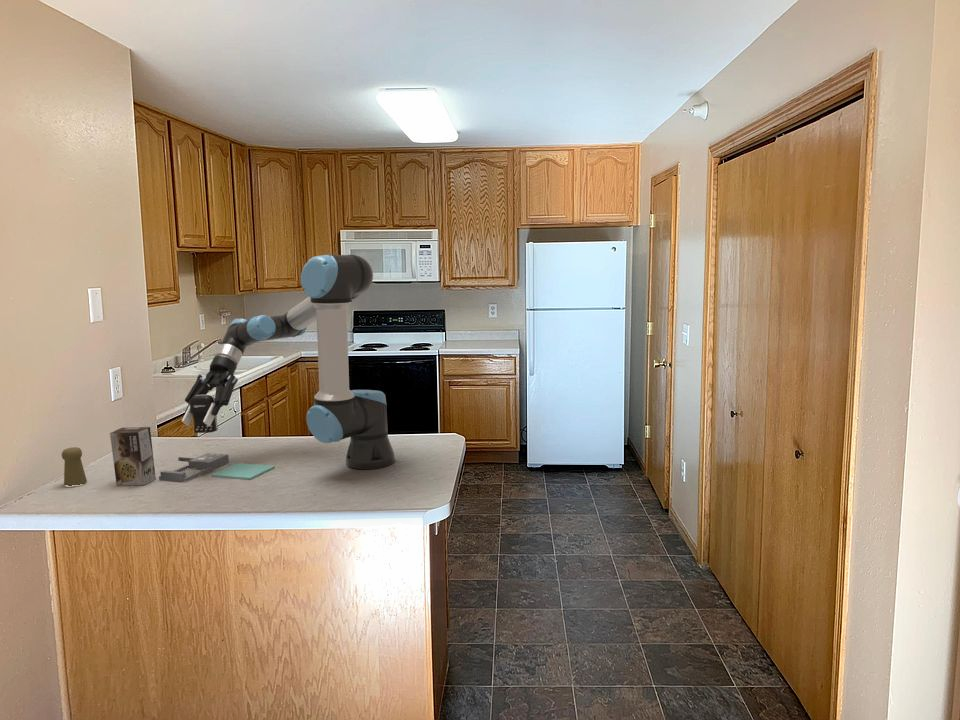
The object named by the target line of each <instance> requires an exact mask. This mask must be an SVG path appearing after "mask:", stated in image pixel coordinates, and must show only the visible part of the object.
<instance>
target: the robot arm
mask: <svg viewBox="0 0 960 720" xmlns="http://www.w3.org/2000/svg"><path fill="white" fill-rule="evenodd" d="M301 270H302V271H301V273H300V284H301V288H302V290H304V291H303V293H304V294H305V295H307V297H306V298H305V299H304V300H302V301H300V302H299V303H298V304H296V305H295V306H294V307H292V308H290V309H289V310H288V311H287V312H285V313H284V314H281V315H280V314H278V315H273V316H271V315H270V316H268V315H266V314H261V315H258V316H257V315H256V316H253V317H252V318H250V319H248V320H247V319H245V318H234V319H233V320H232V321H231V323H230V325H228V328H227V330H226V332H225V334H224V336H223V338H222V341H221V343H220V345H219V347H218V348H217V350H216V352H215V354H214V357H213V359H212V361H211V362H210V365H209V371H208V372H207V373H206V375H202V374H198V375H197V377H196V381H195V383H194V384H193V386H192V387H191V389H190V390H189V392H188V393H187V395H186V397H185V398H184V401H185V403H186V404H188V405H187V406H186V409H185V411H184V413H185V414H184V415H183V417H182V419H181V422H182V423H183V424H184V425H185V426H186V427H189V426H190V425H191V422H192V420H193V419H194V417H193V414H191V411H190V399H191V398H192V397H194V396H196V395H208V393H209V392H210V391H212V390H213V389H214V388H215V396H214V398H215V400H214V401H215V402H214V401H213V402H214V403H215V404H214V403H212V404H211V406H210V408H209V410H208V412H207V414H206V416H205V418H204V420H203V422H204V423H205V424H206V425H207V426H211V423H212V421H213V419H214V417H215V416H216V415H218V414H219V411H220V409H222V407H223V406H225V407H227V406H229V403H230V399H231V397H232V395H233V392H234V388H235V386H236V384H237V383H238V382H239V379H238V377H236V376H235V372H236V370H237V367H238V366H239V363H240V361H241V359H242V357H243V355H244V353H245V351H246V349H247V347H248V346H251V345H253V344H256V343H259V342H265V341H266V342H267V341H272V340H278V339H280V340H281V339H287V338H295V337H298V336H302V335H303V334H305V333H306V330H307V328H308V326H310V325H312V324H313V323H315V322H316V334H317V335H316V337H317V362H318V365H317V367H318V389H319V390H318V392H317V393H315V395H314V396H313V399H314V401H313V402H314V403H313V404H314V405H313V406H311V407H309V409H308V410H307V412H306V416H305V417H306V425H307V428H308V430H309V432H310V434H312V435H313V437H314V439H316V440H317V441H319V442H320V443H323V444H331V443H337V442H341V441H342V440H345V439H346V440H347V439H348V438H349V440H350V441H349V445H348V448H347V452H346V456H345V465H346V466H347V467H348V468H351V469H355V470H373V469H380V468H385V467H389V466H390V465H393V464H394V463H395V461H396V459H395V457H396V455H395V452H394V450H393V447H392V444H391V442H390V439H389V434H388V431H389V430H388V429H389V428H388V414H387V413H388V411H387V409H388V408H387V405H388V404H387V398H386V394H385V393H384V392H383V391H381V390H374V389H373V390H372V389H352V390H351V389H350V376H349V375H350V373H349V371H350V369H349V367H350V366H349V341H348V340H349V337H348V335H349V334H348V332H349V331H348V308H349V306H350V305H351V304H352V303H353V300H355V299H357V298H358V297H360V296H361V295H363V294H364V293H366V291H368V289H370V288H371V286H372V283H373V281H374V273H373V272H374V271H373V269H372V265H370V263H369V262H368V261H367V259H365V258H364V257H361V256H360V255H357V254H323V255H317V256H316V255H315V256H312V257H311V258H310V259H308V260H307V262H306V263H305V264H304V266H303V268H302V269H301Z"/></svg>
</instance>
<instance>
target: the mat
mask: <svg viewBox="0 0 960 720" xmlns="http://www.w3.org/2000/svg"><path fill="white" fill-rule="evenodd" d="M273 468H274V469H275V468H276V467H275V465H267V464H255V463H253V464H252V463H242V462H236V463H235V464H232V465H230V466H228V467H226V468H223V469H221V470H218V471H216V472H214V473H212V474H211V477H212V478H213V477H214V478H225V479H226V478H227V479H237V480H248V481H251V480H253V479H255V478H257V477H260V476H261V475H263V474H265V472H266V473H267V471H268V472H270V471H272V470H274V469H273ZM271 469H272V470H271ZM269 470H270V471H269Z"/></svg>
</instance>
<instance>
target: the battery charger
mask: <svg viewBox="0 0 960 720" xmlns="http://www.w3.org/2000/svg"><path fill="white" fill-rule="evenodd" d="M214 400H215V396H214V395H212V394H206V395H196V396H194V397H192V398H191V399H190V411H191V414H193V423H194V427H193V428H194V430H193V431H194V433H197V434H203V433H204V434H207V433H214V432H217V431H218V430H219V427H218V417H217V415H218V414H217V415H216V416H215V417H214V419H213V421H212V423H211V426H207V425H206V424H205V423H204V422H203V420H204V418H205V416H206V414H207V412H208V410H209V408H210V406H211V404H212V403H214V402H215V401H214ZM213 401H214V402H213ZM214 404H215V403H214Z"/></svg>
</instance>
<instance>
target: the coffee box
mask: <svg viewBox="0 0 960 720" xmlns="http://www.w3.org/2000/svg"><path fill="white" fill-rule="evenodd" d="M109 437H110V438H109V439H110V445H111V453H112V461H113V467H114V474H115V475H114V476H115V483H116V484H115V485H116V486H145V485H147V484H149V483H151V482H153V481H154V480H156V479H157V478H156V470H155V460H154V451H153V443H152V433H151V426H140V427H137V426H136V427H134V426H131V427H128V426H127V427H119V428H118V429H116V430H114V431H112V432H110V433H109Z"/></svg>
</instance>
